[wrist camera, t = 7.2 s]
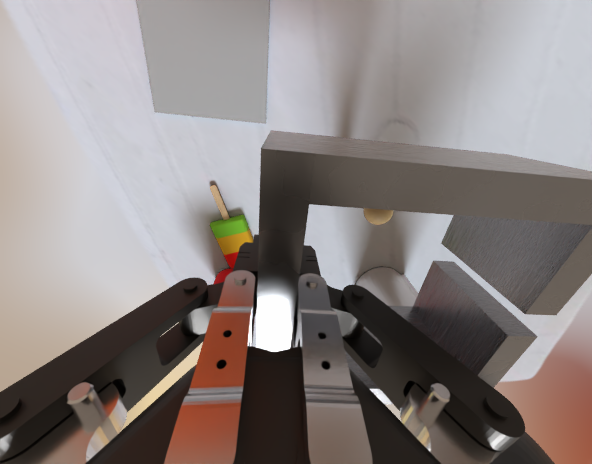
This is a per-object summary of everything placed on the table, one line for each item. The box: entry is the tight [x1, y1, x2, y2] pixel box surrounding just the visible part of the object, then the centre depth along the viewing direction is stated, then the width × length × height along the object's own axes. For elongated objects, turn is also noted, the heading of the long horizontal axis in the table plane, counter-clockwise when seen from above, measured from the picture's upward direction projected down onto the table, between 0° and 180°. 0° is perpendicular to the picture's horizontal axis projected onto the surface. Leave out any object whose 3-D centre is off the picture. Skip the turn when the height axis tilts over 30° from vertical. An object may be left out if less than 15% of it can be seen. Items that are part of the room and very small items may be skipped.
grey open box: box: [256, 130, 592, 404], centre depth 13 cm, size 13×13×6 cm
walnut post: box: [363, 208, 393, 225], centre depth 28 cm, size 3×3×16 cm
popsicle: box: [210, 185, 253, 269], centre depth 38 cm, size 6×15×2 cm, turn 13°
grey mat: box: [136, 0, 270, 124], centre depth 27 cm, size 14×14×1 cm
